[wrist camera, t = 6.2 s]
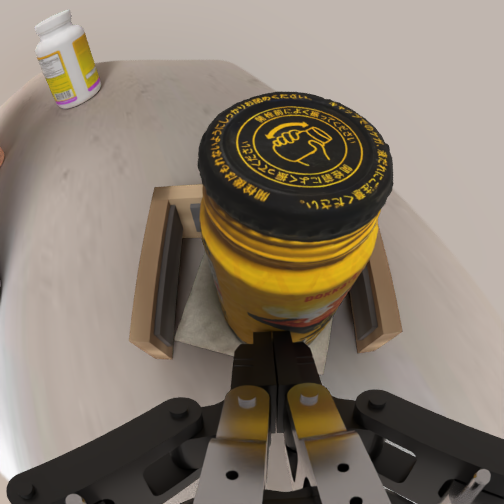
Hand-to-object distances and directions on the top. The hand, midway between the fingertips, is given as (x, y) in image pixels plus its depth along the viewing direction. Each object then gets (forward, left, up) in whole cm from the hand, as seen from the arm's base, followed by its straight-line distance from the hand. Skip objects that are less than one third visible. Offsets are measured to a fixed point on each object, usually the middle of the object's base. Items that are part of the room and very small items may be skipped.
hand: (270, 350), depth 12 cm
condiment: (0, +4, -4) cm, 6 cm away
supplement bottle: (-23, +32, -4) cm, 40 cm away
